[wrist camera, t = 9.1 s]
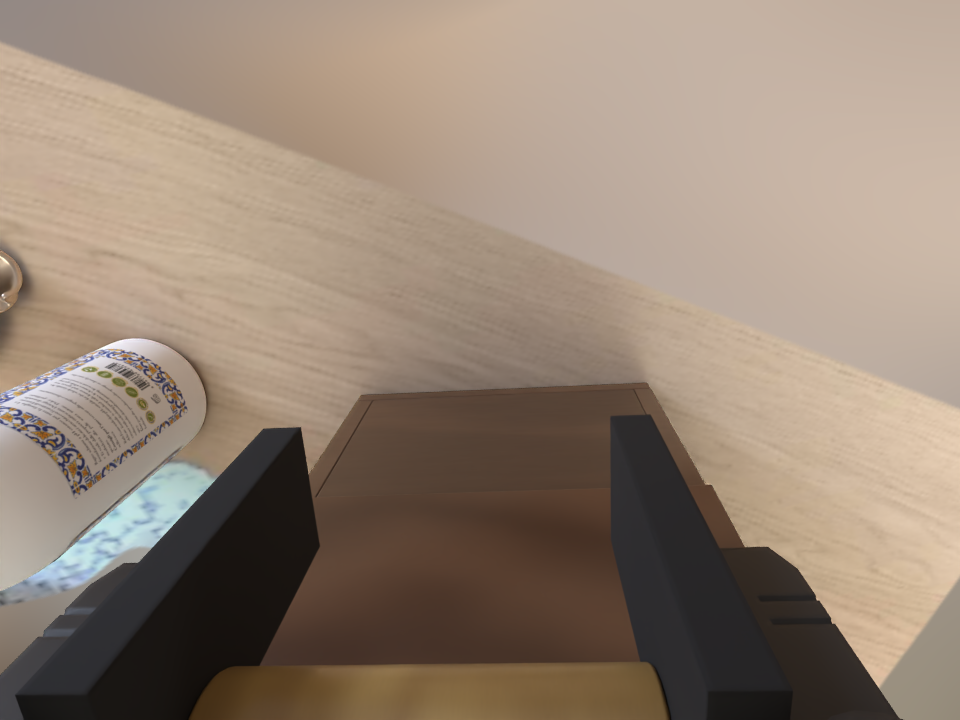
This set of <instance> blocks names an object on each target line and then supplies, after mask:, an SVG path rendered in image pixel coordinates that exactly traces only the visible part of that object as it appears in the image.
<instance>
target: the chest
mask: <svg viewBox="0 0 960 720" xmlns="http://www.w3.org/2000/svg"><path fill="white" fill-rule="evenodd" d="M646 414H651V416H652V418H653V420H654V422H655V424H656V426H657V428H658V430H659V432H660V433H661V435H662V437H663V439H664V441H665V443H666V445H667V447H668V449H669V451H670V453H671V455H672V457H673V459H674V461H675V463H676V465H677V466H678V468H679V470H680V472H681V474H682V476H683V478H684V480H685V482H686V484H687V486H692V485H705V483H704V481H703V480H702V478H701V476H700V474H699V473H698V471H697V469H696V467H695V466H694V464H693V462H692V460H691V459H690V457H689V455H688V453H687V451H686V450H685V448H684V446H683V444H682V443H681V441H680V439H679V437H678V436H677V434H676V432H675V430H674V429H673V427H672V425H671V423H670V422H669V420H668V418H667V416H666V414H665V413H664V411H663V409H662V407H661V406H660V404H659V402H658V400H657V399H656V397H655V395H654V393H653V392H652V390H651V389H650V387H649V385H648V383H632V384H609V385H586V386H563V387H540V388H517V389H494V390H471V391H448V392H425V393H401V394H378V395H361V396H360V398H359V399H358V401H357V402H356V403H355V405H354V407H353V408H352V410H351V411H350V413H349V414H348V416H347V417H346V419H345V420H344V422H343V423H342V425H341V426H340V428H339V429H338V431H337V433H336V434H335V436H334V437H333V439H332V440H331V442H330V443H329V445H328V446H327V448H326V449H325V451H324V452H323V454H322V456H321V457H320V459H319V460H318V462H317V463H316V465H315V466H314V468H313V469H312V471H311V472H310V474H309V481H310V487H311V493H312V497H340V496H372V495H404V494H436V493H468V492H500V491H532V490H564V489H596V488H611V473H610V416H619V415H646Z"/></svg>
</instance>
